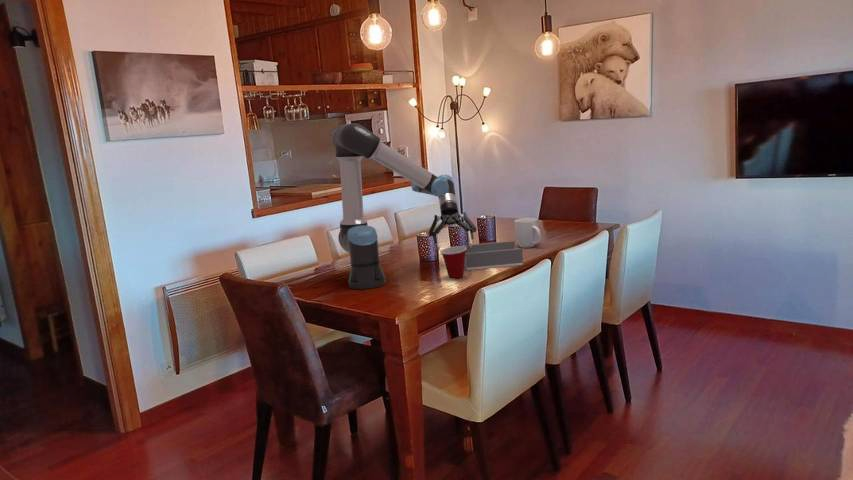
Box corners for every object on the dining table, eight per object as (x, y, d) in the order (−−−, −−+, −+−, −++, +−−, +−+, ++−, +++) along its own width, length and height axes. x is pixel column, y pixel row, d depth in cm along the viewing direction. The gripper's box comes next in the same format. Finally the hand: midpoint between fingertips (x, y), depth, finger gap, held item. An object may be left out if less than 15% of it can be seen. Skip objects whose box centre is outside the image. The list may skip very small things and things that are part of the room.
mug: (549, 246, 280) (548, 219, 277) (532, 251, 274) (530, 223, 271) (527, 243, 292) (526, 217, 290) (510, 247, 286) (509, 220, 284)
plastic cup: (438, 276, 243) (436, 248, 241) (463, 272, 246) (461, 244, 244) (447, 282, 233) (445, 253, 230) (472, 278, 236) (470, 249, 233)
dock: (467, 270, 249) (465, 254, 248) (462, 260, 267) (461, 245, 266) (523, 264, 250) (522, 248, 249) (514, 255, 268) (513, 240, 266)
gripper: (476, 208, 259) (484, 249, 248) (420, 213, 258) (425, 254, 247) (477, 198, 253) (485, 239, 241) (419, 203, 252) (424, 245, 240)
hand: (454, 247), depth 244 cm, fingers open, 13 cm apart
